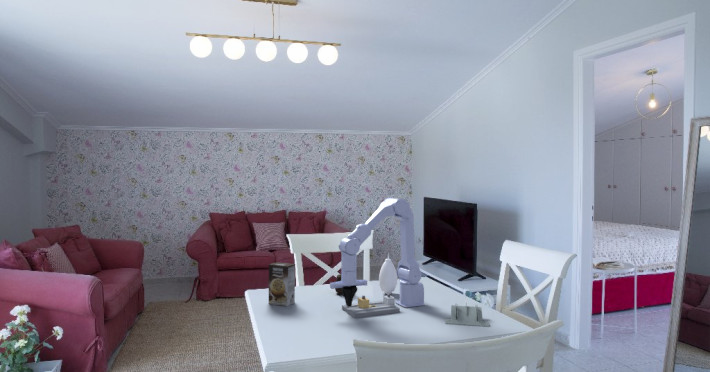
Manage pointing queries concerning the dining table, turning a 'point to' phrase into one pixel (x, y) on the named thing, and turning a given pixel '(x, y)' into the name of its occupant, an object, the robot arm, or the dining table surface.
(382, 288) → the white air blower bulb
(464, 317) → the metal bracket
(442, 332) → the dining table surface
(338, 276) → the mate gourd
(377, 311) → the gauge plate
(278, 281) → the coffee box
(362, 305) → the slider
